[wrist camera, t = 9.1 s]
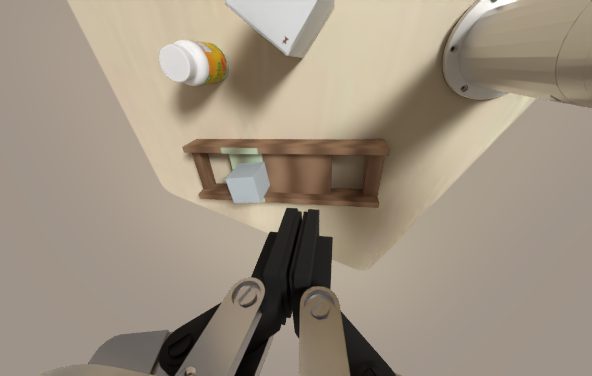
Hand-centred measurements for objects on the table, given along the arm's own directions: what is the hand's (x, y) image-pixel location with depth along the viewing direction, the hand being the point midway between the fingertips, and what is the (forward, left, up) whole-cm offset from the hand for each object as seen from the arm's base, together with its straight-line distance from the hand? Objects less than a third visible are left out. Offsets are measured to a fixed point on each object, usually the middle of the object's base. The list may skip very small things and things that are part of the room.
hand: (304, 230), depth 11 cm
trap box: (+8, +10, -28) cm, 31 cm away
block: (+13, +11, -26) cm, 31 cm away
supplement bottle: (+18, -8, -29) cm, 35 cm away
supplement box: (+4, -13, -29) cm, 32 cm away
